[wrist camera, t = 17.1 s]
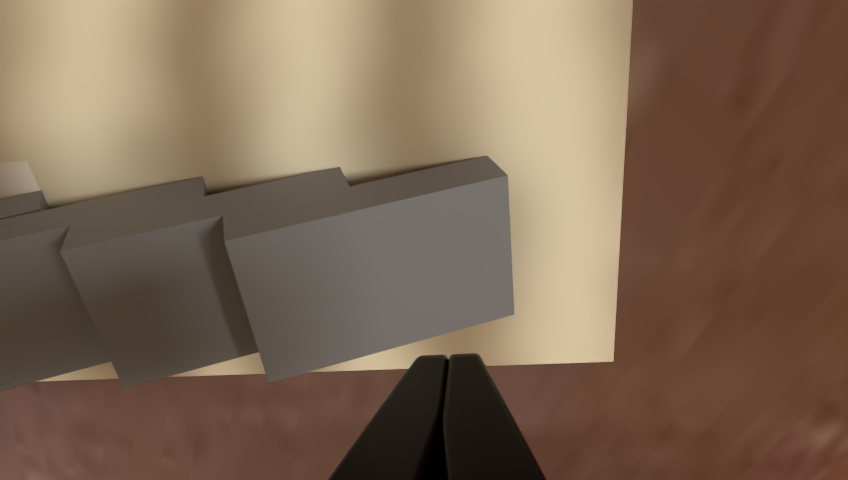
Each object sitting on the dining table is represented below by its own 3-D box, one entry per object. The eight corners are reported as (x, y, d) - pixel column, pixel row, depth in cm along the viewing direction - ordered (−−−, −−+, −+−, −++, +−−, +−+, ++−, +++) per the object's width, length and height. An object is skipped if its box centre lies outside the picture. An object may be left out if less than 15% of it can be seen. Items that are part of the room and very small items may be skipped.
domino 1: (203, 196, 19) (-92, 261, 18) (244, 326, 22) (-11, 393, 20) (202, 176, 21) (-72, 234, 19) (241, 301, 23) (2, 362, 22)
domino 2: (349, 186, 19) (60, 251, 17) (374, 321, 21) (123, 388, 20) (339, 166, 20) (70, 225, 19) (363, 295, 23) (128, 356, 21)
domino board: (648, -484, 13) (660, -508, 12) (608, 343, 24) (613, 361, 23) (-347, -303, 16) (-395, -311, 15) (26, 365, 27) (12, 382, 26)
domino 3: (508, 175, 18) (224, 241, 17) (514, 314, 21) (268, 383, 19) (487, 155, 20) (223, 215, 18) (495, 288, 22) (264, 350, 21)
